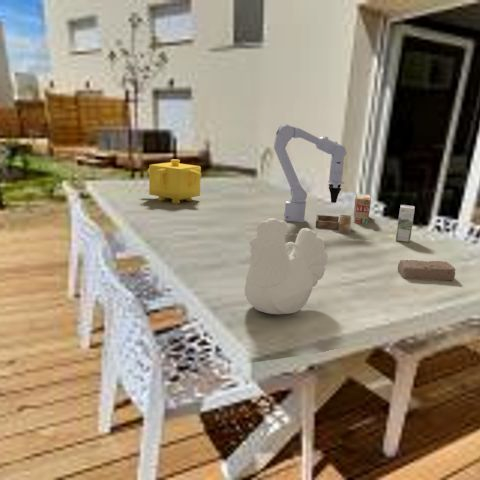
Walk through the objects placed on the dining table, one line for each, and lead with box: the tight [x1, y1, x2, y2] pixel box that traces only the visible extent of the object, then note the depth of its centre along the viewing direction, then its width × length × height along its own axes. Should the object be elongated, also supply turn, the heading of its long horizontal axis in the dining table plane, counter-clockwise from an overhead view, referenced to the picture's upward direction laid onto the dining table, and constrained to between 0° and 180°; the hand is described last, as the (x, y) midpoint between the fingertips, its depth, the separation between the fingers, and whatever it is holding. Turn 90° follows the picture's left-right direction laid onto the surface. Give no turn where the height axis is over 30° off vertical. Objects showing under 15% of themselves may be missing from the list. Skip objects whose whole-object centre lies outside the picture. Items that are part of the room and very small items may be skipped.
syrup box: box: [395, 204, 416, 244], centre depth 209 cm, size 6×6×14 cm
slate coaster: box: [331, 229, 357, 235], centre depth 219 cm, size 10×10×1 cm
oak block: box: [338, 214, 352, 233], centre depth 218 cm, size 4×4×6 cm
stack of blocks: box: [353, 193, 372, 225], centre depth 243 cm, size 21×6×12 cm, turn 169°
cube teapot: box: [146, 158, 202, 204], centre depth 268 cm, size 35×30×21 cm
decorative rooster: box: [244, 217, 329, 315], centre depth 133 cm, size 25×16×25 cm, turn 110°
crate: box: [315, 214, 340, 230], centre depth 228 cm, size 10×13×4 cm
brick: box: [397, 259, 456, 282], centre depth 168 cm, size 17×8×5 cm, turn 88°
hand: (333, 201), depth 234 cm, fingers open, 7 cm apart
